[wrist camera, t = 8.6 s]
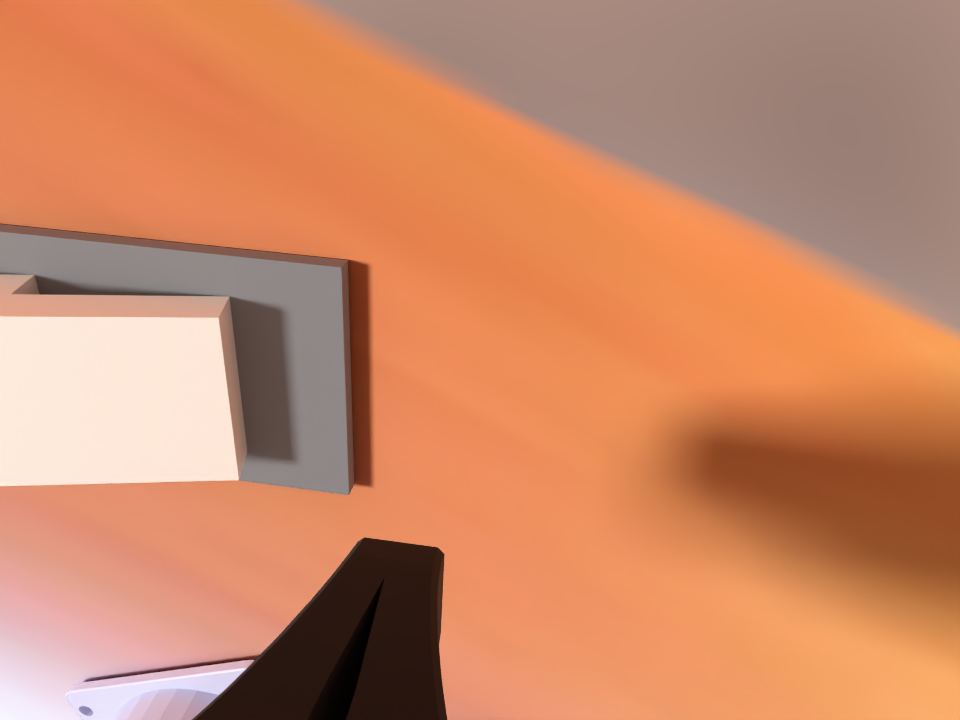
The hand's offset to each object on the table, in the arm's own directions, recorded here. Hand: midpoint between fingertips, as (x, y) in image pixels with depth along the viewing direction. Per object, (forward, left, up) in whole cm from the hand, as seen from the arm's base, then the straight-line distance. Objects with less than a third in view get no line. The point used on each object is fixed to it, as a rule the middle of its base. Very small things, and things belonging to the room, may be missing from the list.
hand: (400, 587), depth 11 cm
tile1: (+2, +5, -5) cm, 7 cm away
